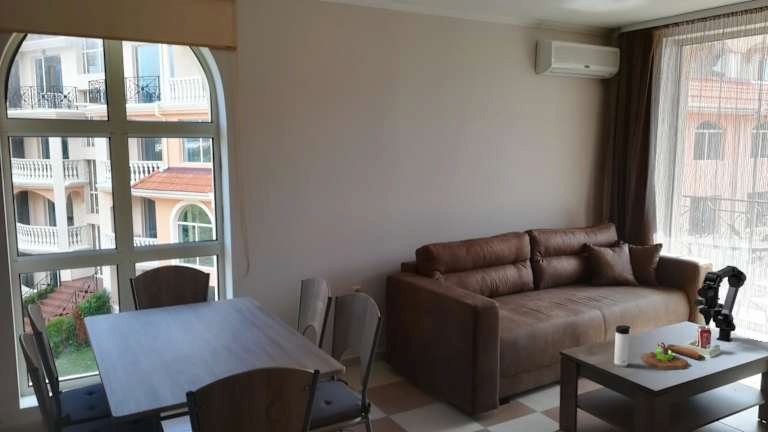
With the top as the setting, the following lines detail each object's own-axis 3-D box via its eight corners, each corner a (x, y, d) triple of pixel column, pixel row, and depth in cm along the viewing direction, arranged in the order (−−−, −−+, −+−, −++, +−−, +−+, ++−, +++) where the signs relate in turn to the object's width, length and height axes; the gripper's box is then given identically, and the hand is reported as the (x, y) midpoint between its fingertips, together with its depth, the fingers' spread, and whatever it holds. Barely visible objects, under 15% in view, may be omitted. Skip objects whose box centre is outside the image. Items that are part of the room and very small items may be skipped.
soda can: (713, 351, 305) (714, 328, 304) (702, 352, 303) (704, 330, 302) (702, 346, 312) (704, 325, 310) (692, 348, 310) (693, 326, 308)
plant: (632, 358, 299) (633, 337, 297) (663, 354, 305) (664, 333, 304) (662, 373, 280) (663, 350, 279) (694, 368, 286) (695, 346, 285)
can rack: (693, 345, 318) (693, 338, 317) (720, 352, 307) (721, 345, 306) (681, 350, 310) (682, 343, 309) (709, 357, 299) (710, 351, 298)
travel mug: (627, 368, 285) (629, 328, 283) (612, 365, 289) (614, 326, 286) (629, 364, 290) (631, 325, 288) (615, 361, 294) (617, 323, 292)
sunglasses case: (707, 357, 299) (704, 348, 296) (700, 366, 296) (697, 357, 294) (674, 347, 314) (671, 338, 311) (667, 356, 311) (664, 346, 309)
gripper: (703, 290, 326) (701, 317, 328) (689, 295, 314) (687, 323, 316) (725, 293, 318) (723, 321, 319) (711, 299, 305) (709, 328, 307)
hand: (710, 323), depth 316 cm, fingers open, 9 cm apart
